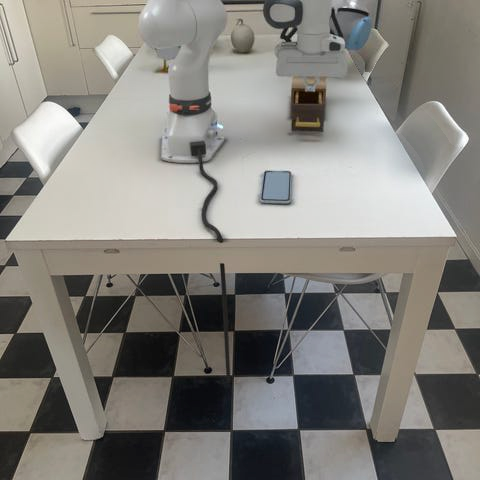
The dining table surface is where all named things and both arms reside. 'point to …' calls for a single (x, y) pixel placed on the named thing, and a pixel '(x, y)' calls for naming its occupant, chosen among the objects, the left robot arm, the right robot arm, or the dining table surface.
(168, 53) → the toy
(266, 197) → the smartphone
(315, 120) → the drawer
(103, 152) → the dining table surface
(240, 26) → the fruit
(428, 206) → the dining table surface
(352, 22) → the right robot arm
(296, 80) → the open wooden box
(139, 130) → the dining table surface
